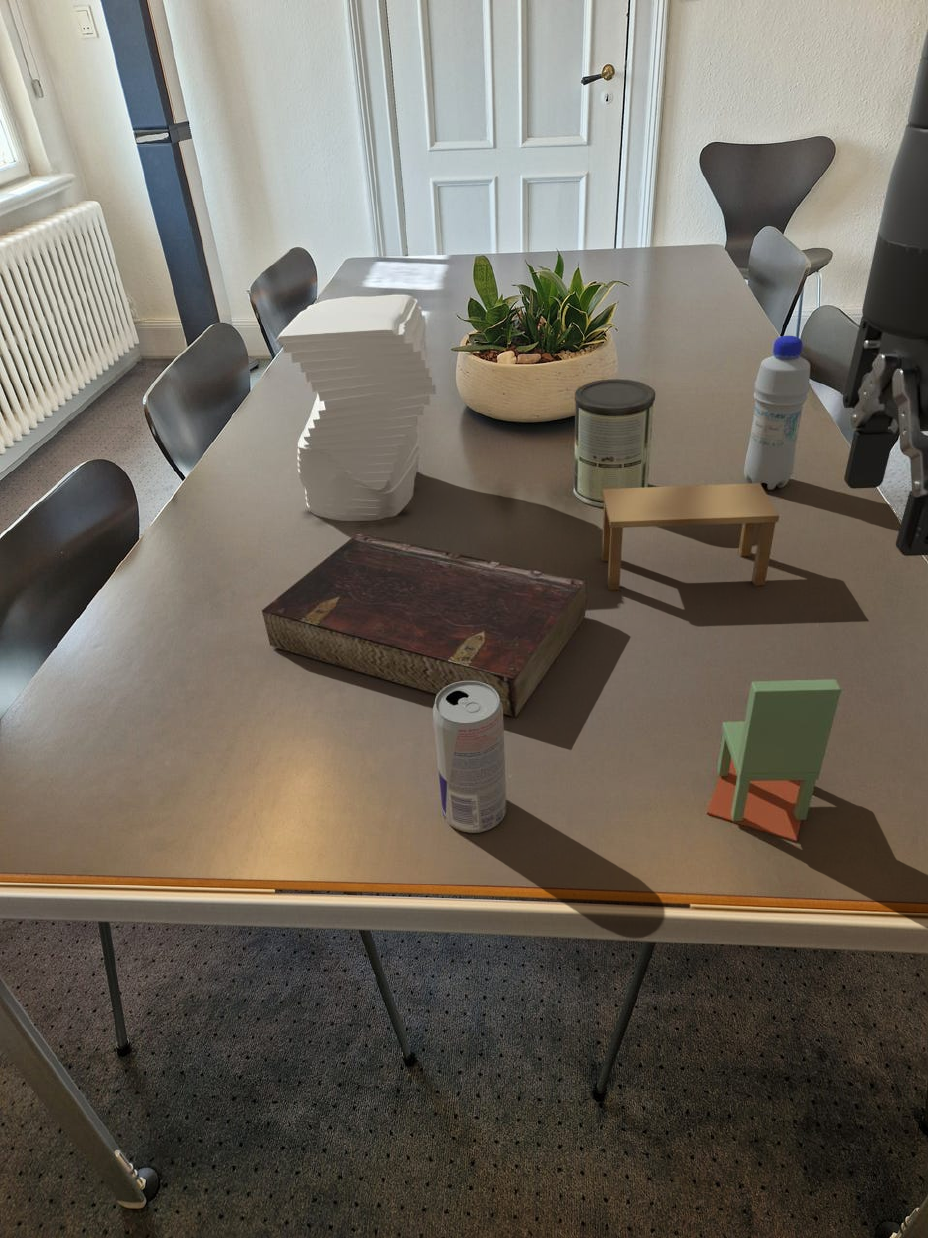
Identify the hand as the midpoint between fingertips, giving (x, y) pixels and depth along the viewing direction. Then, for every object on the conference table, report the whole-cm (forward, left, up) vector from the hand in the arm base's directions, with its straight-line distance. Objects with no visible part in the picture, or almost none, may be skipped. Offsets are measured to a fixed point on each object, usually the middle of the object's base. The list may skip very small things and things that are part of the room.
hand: (887, 516), depth 51 cm
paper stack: (+64, -40, -28) cm, 81 cm away
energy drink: (+25, +9, -28) cm, 39 cm away
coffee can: (+34, -51, -28) cm, 68 cm away
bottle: (+15, -61, -28) cm, 69 cm away
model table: (+20, -34, -28) cm, 49 cm away
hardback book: (+41, -12, -28) cm, 51 cm away
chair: (+4, -2, -28) cm, 28 cm away
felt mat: (+4, -2, -28) cm, 28 cm away
